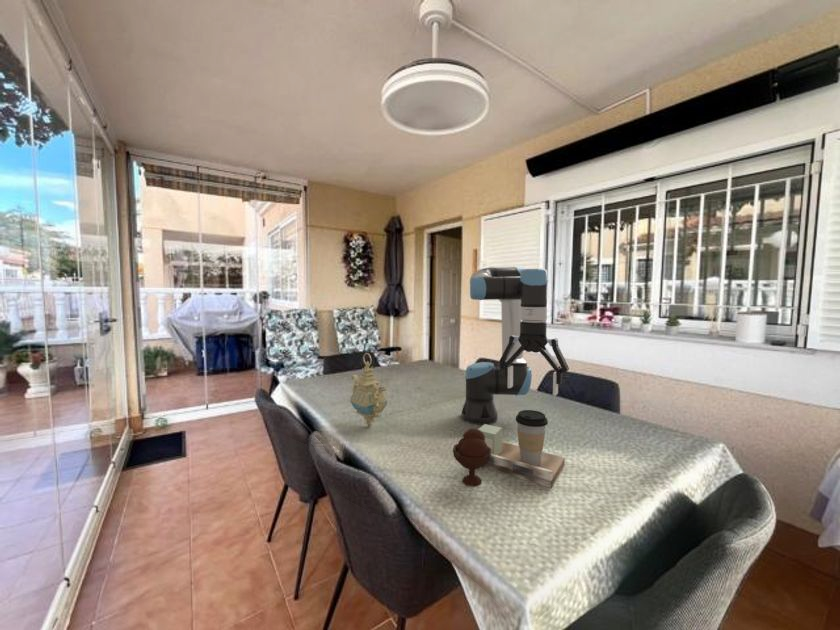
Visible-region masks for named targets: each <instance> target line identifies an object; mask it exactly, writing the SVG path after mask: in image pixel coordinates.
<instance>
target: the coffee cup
mask: <svg viewBox="0 0 840 630" xmlns="http://www.w3.org/2000/svg"><path fill="white" fill-rule="evenodd" d="M515 421H516V423H517V438H518V439H517V440H518V446H519V447H520V458H521V462H523V463H526V464H530V465H534V466H539V465H540V463H541V456H542V452H543V450H544V445H545V444H544V442H545V434H546V426H547V425H548V424H549V422H548V421H549V420H548V418H547V417H546V414H545V413H543V412H542V411H540V410H539V411H537V410H534V409H523V410H520V411H519V412H518V413H517V414H516V416H515Z"/></svg>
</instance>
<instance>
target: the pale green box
mask: <svg viewBox="0 0 840 630" xmlns="http://www.w3.org/2000/svg"><path fill="white" fill-rule="evenodd" d="M477 429H478V430H480V431H481V432H482V433H483V434H484V437H485V443H486V444H487V446H488V447H489V448H491V454H494V455H499V454H500V453H501V452H502V442H503V428H502V427H500V426H496V425H495V426H494V425H490V424H482V426H481V427H479V428H477Z"/></svg>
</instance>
